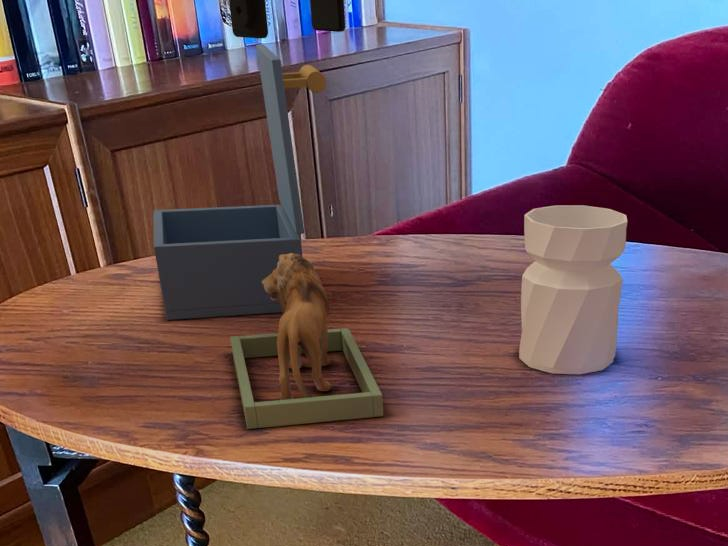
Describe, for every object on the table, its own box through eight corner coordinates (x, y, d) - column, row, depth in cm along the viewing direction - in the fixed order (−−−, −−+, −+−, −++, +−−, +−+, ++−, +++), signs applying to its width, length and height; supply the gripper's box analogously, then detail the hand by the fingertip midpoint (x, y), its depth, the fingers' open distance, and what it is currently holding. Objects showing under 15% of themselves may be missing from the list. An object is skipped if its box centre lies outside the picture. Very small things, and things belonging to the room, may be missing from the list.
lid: (271, 59, 84) (330, 55, 85) (256, 44, 97) (307, 41, 98) (296, 234, 93) (349, 228, 94) (279, 200, 105) (326, 195, 106)
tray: (247, 429, 74) (244, 407, 72) (232, 356, 86) (230, 336, 85) (383, 416, 76) (382, 394, 75) (349, 347, 89) (348, 327, 88)
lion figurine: (269, 352, 87) (257, 249, 82) (328, 348, 88) (319, 246, 83) (281, 415, 76) (267, 299, 70) (348, 410, 77) (340, 295, 72)
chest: (166, 320, 94) (153, 246, 90) (164, 276, 107) (153, 210, 103) (307, 310, 97) (301, 239, 93) (289, 269, 110) (283, 204, 106)
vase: (551, 381, 83) (560, 233, 75) (501, 349, 89) (505, 210, 82) (634, 365, 86) (650, 222, 79) (580, 336, 92) (590, 201, 85)
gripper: (304, -229, 76) (322, 26, 86) (137, -264, 64) (180, 37, 74) (381, -235, 73) (390, 30, 83) (220, -272, 61) (254, 43, 71)
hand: (291, 33), depth 79 cm, fingers open, 9 cm apart
